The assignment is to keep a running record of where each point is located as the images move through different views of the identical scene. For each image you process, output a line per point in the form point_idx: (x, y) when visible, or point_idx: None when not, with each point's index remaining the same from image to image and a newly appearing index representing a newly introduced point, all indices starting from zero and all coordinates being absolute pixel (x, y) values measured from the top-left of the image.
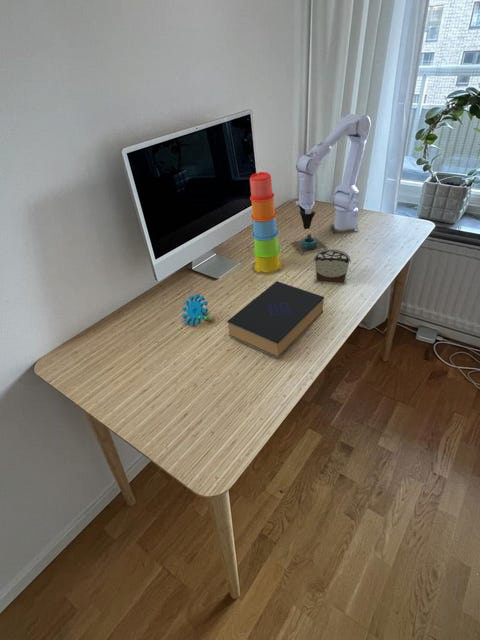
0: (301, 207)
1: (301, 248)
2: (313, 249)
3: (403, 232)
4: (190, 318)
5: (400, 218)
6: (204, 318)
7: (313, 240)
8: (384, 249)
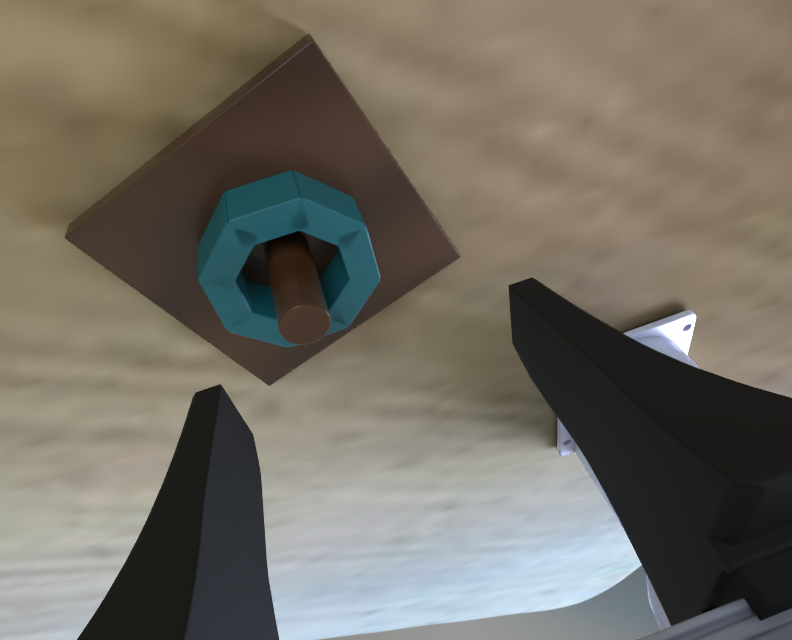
0: (667, 464)
1: (168, 194)
2: (188, 312)
3: (521, 576)
4: None
5: None
6: None
7: None
8: (336, 583)
